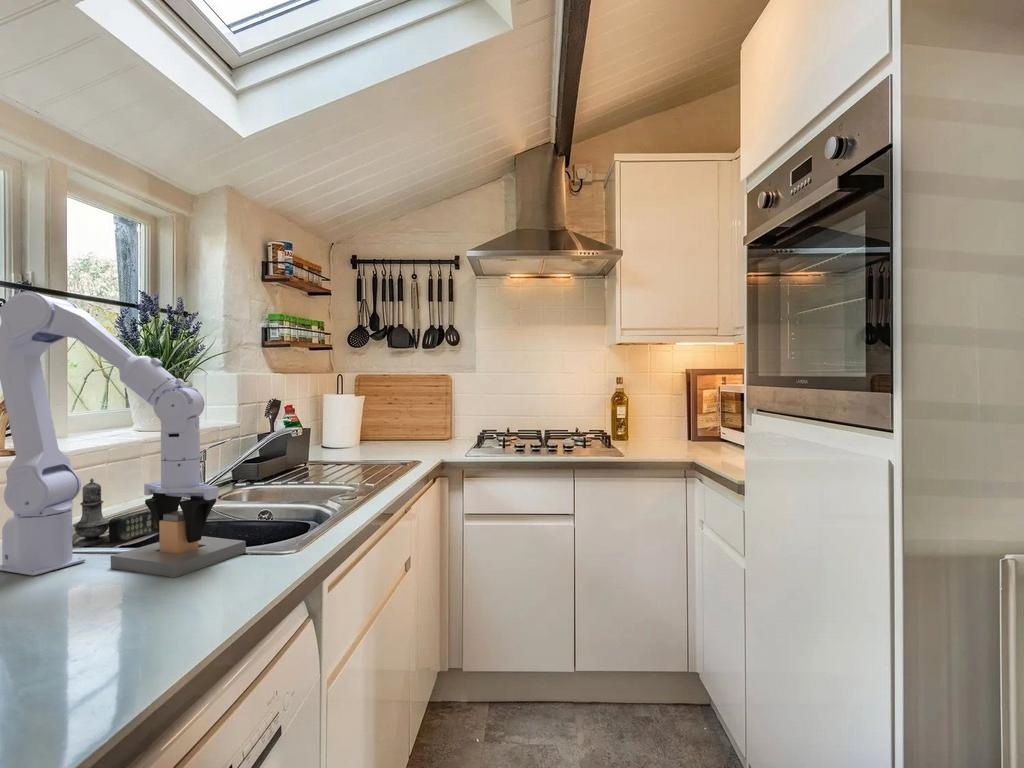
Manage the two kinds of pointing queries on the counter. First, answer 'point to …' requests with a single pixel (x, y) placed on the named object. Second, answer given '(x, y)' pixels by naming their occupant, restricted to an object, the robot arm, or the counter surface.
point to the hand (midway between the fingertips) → (181, 539)
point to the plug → (174, 534)
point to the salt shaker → (91, 517)
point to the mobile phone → (132, 526)
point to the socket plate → (177, 557)
